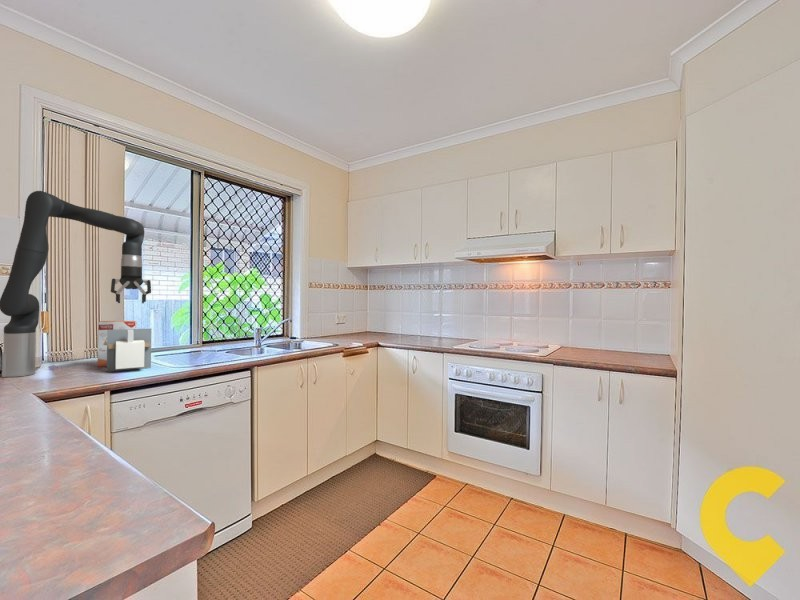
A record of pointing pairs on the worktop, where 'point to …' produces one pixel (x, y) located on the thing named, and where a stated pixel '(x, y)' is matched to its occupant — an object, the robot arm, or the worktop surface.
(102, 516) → the worktop surface
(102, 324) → the cracker box
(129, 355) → the white block
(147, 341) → the wall board
